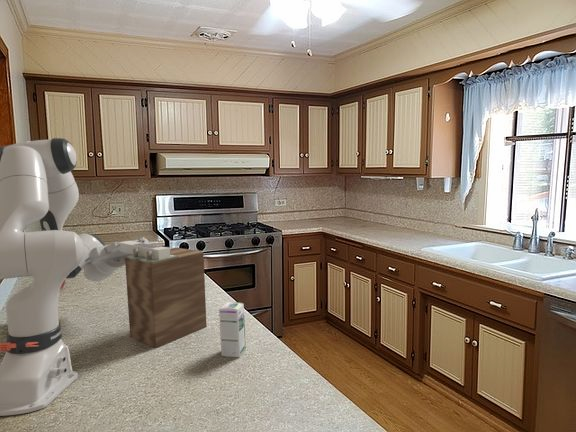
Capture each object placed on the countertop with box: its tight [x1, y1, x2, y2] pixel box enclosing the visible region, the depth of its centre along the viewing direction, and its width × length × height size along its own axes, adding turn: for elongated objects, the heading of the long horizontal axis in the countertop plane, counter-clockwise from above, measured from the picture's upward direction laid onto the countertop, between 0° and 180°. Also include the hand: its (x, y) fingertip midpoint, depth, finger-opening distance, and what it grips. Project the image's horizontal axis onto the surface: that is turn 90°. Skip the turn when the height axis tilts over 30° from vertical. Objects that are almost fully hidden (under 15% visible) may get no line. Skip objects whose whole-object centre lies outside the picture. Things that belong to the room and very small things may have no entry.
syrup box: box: [218, 301, 247, 358], centre depth 122 cm, size 6×6×14 cm
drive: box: [118, 240, 171, 260], centre depth 135 cm, size 22×4×3 cm, turn 53°
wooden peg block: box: [124, 246, 208, 349], centre depth 137 cm, size 14×20×29 cm
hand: (130, 241), depth 139 cm, fingers open, 8 cm apart
